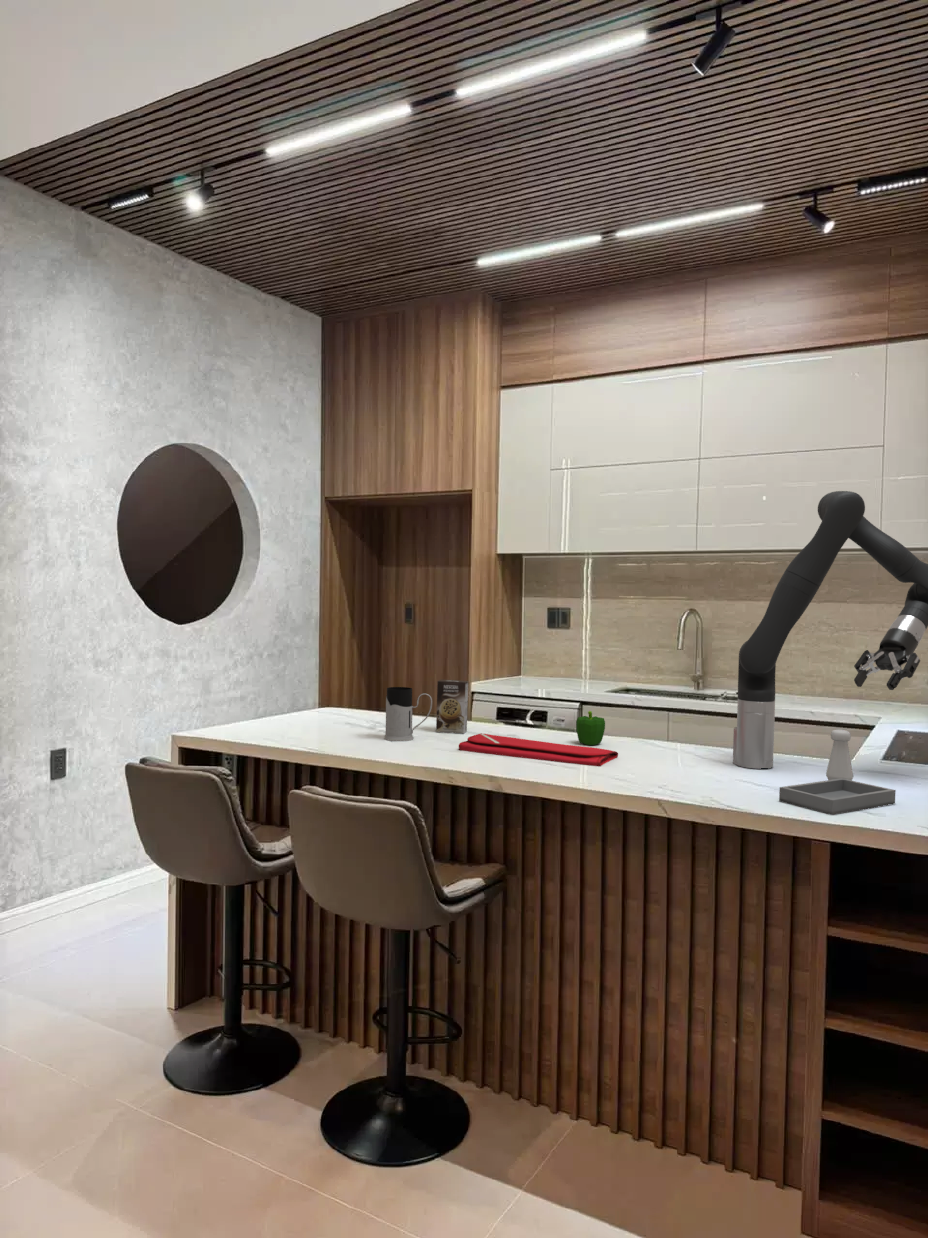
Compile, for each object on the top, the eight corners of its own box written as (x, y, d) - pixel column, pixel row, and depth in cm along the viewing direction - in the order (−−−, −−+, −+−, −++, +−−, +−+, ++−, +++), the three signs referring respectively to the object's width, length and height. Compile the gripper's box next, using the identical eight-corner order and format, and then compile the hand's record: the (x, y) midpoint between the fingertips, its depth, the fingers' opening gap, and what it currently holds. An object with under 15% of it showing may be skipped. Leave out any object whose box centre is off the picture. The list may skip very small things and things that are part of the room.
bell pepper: (583, 740, 257) (584, 707, 257) (608, 744, 253) (609, 710, 252) (570, 744, 251) (571, 710, 250) (595, 747, 246) (596, 713, 246)
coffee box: (435, 732, 267) (436, 680, 266) (439, 729, 273) (440, 679, 273) (464, 734, 265) (465, 682, 265) (467, 730, 272) (468, 680, 271)
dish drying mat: (599, 768, 218) (600, 754, 218) (457, 752, 237) (457, 739, 237) (618, 759, 232) (618, 745, 232) (482, 744, 251) (482, 731, 251)
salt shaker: (845, 782, 205) (847, 728, 205) (857, 788, 199) (859, 732, 199) (821, 782, 205) (823, 728, 204) (832, 787, 199) (834, 732, 199)
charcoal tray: (779, 801, 185) (779, 787, 185) (841, 791, 195) (841, 778, 195) (832, 815, 173) (832, 800, 173) (895, 804, 184) (895, 790, 184)
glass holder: (387, 735, 259) (388, 686, 259) (433, 737, 257) (434, 688, 257) (380, 740, 250) (381, 689, 250) (428, 742, 248) (429, 691, 248)
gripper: (870, 626, 217) (840, 673, 212) (924, 627, 205) (893, 678, 199) (883, 646, 220) (853, 693, 214) (937, 649, 207) (907, 699, 202)
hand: (873, 686), depth 207 cm, fingers open, 8 cm apart
